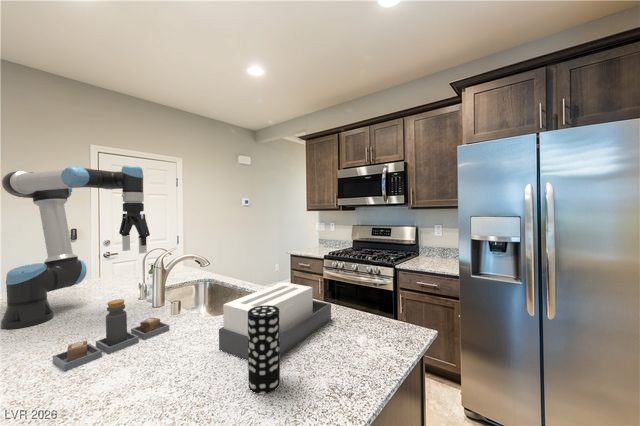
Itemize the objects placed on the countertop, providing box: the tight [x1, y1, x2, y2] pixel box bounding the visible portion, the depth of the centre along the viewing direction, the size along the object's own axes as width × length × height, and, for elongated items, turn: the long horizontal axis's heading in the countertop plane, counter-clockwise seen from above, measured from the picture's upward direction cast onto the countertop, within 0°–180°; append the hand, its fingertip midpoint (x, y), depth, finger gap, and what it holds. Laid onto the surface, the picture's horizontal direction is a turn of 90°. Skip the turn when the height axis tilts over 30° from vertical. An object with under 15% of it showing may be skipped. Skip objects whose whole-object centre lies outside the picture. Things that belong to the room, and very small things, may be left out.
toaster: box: [222, 281, 314, 337], centre depth 105 cm, size 35×16×15 cm, turn 149°
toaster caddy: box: [218, 300, 332, 361], centre depth 106 cm, size 21×40×7 cm, turn 149°
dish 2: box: [95, 331, 140, 355], centre depth 97 cm, size 9×9×2 cm
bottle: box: [105, 298, 128, 347], centre depth 97 cm, size 6×6×15 cm
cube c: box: [66, 340, 88, 362], centre depth 87 cm, size 4×4×5 cm
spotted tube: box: [247, 305, 281, 394], centre depth 75 cm, size 8×8×20 cm
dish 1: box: [52, 343, 103, 372], centre depth 87 cm, size 9×9×2 cm
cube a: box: [139, 317, 161, 333], centre depth 106 cm, size 4×4×5 cm
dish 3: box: [130, 321, 170, 341], centre depth 106 cm, size 9×9×2 cm
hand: (134, 251), depth 121 cm, fingers open, 13 cm apart
